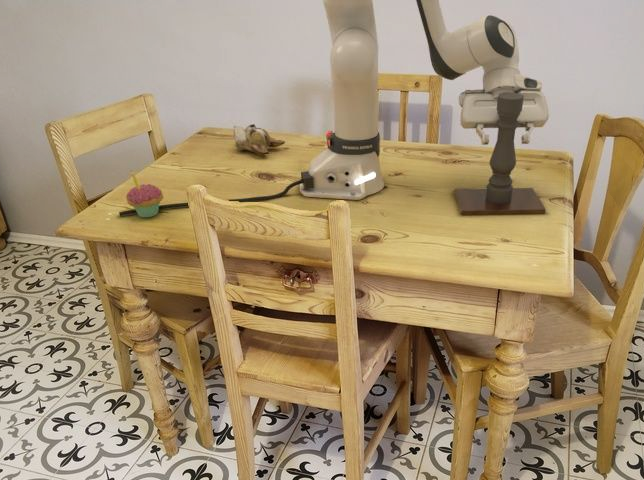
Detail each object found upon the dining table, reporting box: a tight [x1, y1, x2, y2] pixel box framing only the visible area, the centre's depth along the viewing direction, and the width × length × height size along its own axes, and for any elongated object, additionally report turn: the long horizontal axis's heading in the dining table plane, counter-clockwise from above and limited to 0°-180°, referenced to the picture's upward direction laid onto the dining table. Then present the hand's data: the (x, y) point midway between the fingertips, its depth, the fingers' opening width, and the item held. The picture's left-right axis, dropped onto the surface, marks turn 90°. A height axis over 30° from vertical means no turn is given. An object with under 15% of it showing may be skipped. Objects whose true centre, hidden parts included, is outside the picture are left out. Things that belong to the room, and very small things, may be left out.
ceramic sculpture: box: [233, 124, 286, 156], centre depth 183 cm, size 11×9×15 cm
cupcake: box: [126, 169, 164, 218], centre depth 146 cm, size 9×8×12 cm
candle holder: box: [486, 93, 524, 204], centre depth 142 cm, size 6×6×25 cm
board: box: [453, 187, 546, 216], centre depth 150 cm, size 20×13×1 cm, turn 89°
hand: (505, 143), depth 141 cm, fingers open, 8 cm apart
